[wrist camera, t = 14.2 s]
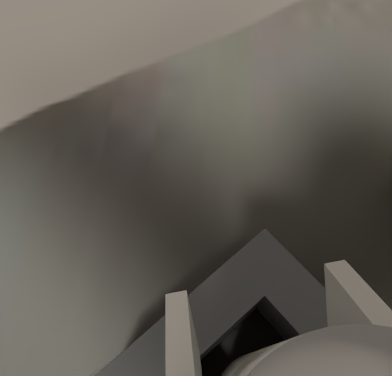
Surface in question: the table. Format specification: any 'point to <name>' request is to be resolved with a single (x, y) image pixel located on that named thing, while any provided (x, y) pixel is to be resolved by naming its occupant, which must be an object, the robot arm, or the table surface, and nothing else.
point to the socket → (237, 305)
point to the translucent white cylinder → (323, 354)
